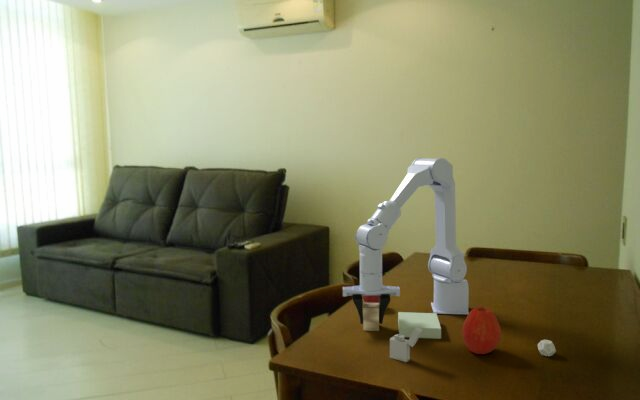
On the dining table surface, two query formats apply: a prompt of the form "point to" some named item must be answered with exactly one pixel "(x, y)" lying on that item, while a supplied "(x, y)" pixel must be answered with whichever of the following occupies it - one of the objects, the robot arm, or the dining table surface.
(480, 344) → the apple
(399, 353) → the lighter
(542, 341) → the game die
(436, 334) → the stacking block
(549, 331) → the dining table surface
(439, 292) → the robot arm
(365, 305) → the beech block
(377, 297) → the onion
